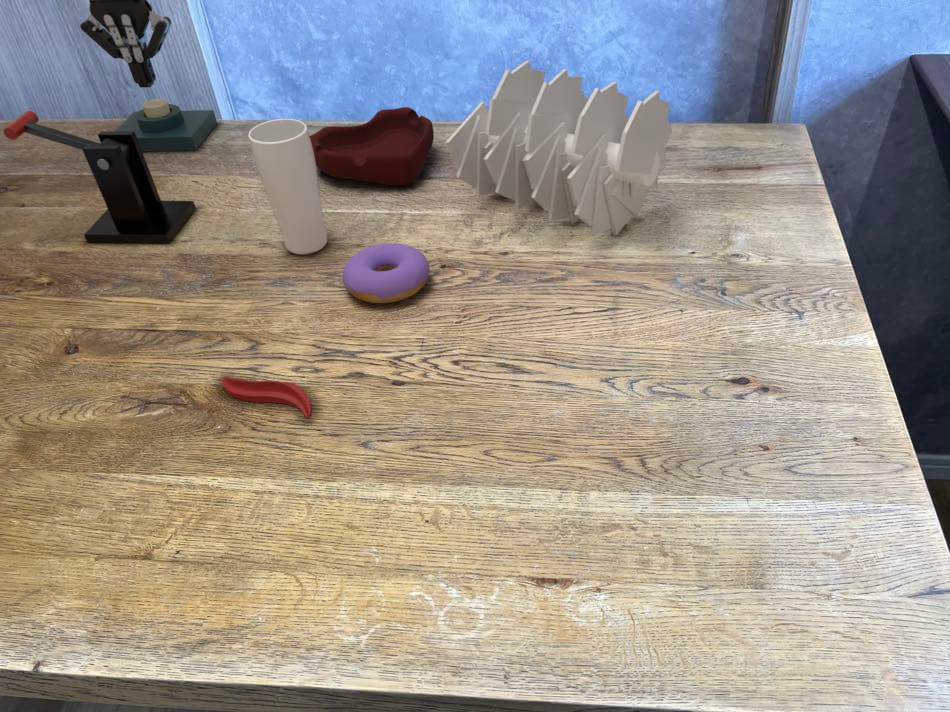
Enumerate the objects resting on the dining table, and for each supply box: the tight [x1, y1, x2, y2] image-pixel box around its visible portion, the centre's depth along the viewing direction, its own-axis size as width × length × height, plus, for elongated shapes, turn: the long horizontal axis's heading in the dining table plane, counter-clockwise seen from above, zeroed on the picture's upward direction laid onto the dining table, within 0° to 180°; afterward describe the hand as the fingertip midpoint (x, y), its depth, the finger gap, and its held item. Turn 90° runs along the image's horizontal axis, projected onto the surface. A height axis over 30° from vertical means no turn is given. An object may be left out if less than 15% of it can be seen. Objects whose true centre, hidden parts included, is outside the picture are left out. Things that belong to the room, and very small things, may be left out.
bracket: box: [81, 130, 197, 244], centre depth 104 cm, size 11×9×12 cm
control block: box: [115, 103, 218, 152], centre depth 127 cm, size 13×10×4 cm
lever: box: [3, 110, 130, 164], centre depth 100 cm, size 13×5×2 cm, turn 86°
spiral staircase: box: [444, 60, 674, 237], centre depth 101 cm, size 18×18×25 cm
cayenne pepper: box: [221, 375, 312, 420], centre depth 81 cm, size 12×5×2 cm, turn 52°
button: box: [142, 98, 171, 118], centre depth 125 cm, size 4×4×2 cm
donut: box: [342, 242, 430, 304], centre depth 94 cm, size 10×9×5 cm
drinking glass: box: [247, 118, 329, 255], centre depth 98 cm, size 7×7×15 cm
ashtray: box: [310, 106, 435, 188], centre depth 116 cm, size 18×16×5 cm
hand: (147, 85), depth 123 cm, fingers closed
